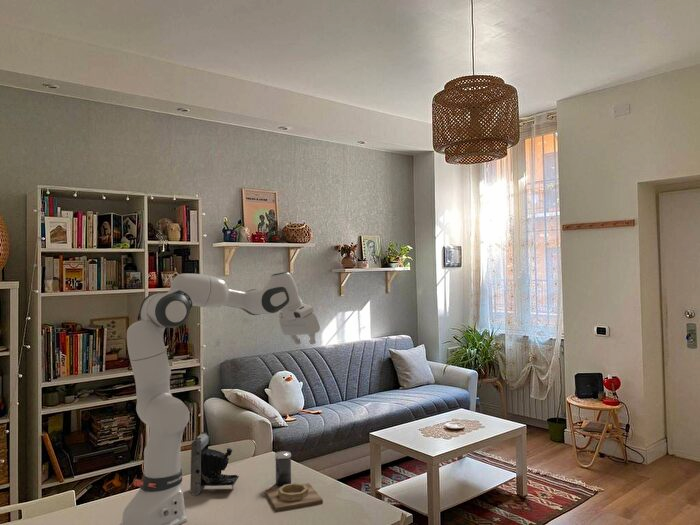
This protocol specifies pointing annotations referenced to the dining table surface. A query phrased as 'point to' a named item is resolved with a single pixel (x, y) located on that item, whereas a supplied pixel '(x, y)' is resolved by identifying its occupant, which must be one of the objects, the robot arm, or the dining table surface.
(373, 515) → the dining table surface
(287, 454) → the canister
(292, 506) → the mount
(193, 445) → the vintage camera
